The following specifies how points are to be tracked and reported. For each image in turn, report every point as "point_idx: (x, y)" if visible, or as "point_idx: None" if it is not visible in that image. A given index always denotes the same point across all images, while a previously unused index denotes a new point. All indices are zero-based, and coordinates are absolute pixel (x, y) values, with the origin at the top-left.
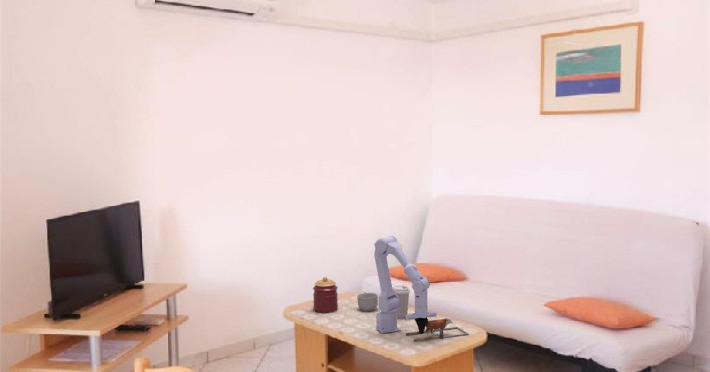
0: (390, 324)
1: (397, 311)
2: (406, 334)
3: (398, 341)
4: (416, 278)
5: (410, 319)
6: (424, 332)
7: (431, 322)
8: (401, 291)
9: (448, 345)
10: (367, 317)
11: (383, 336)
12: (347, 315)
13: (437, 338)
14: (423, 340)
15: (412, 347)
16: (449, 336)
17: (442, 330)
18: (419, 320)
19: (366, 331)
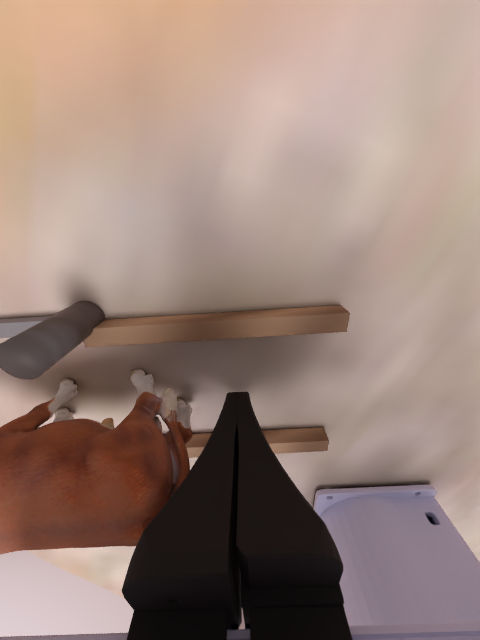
0: (403, 547)
1: None
2: (326, 435)
3: (444, 352)
4: None
5: (466, 625)
6: (191, 439)
7: (96, 507)
8: None
9: (27, 73)
10: None
11: (457, 448)
12: None
13: (122, 320)
14: (256, 311)
15: (453, 161)
16: (2, 322)
17: (4, 343)
18: (305, 576)
19: (473, 513)
